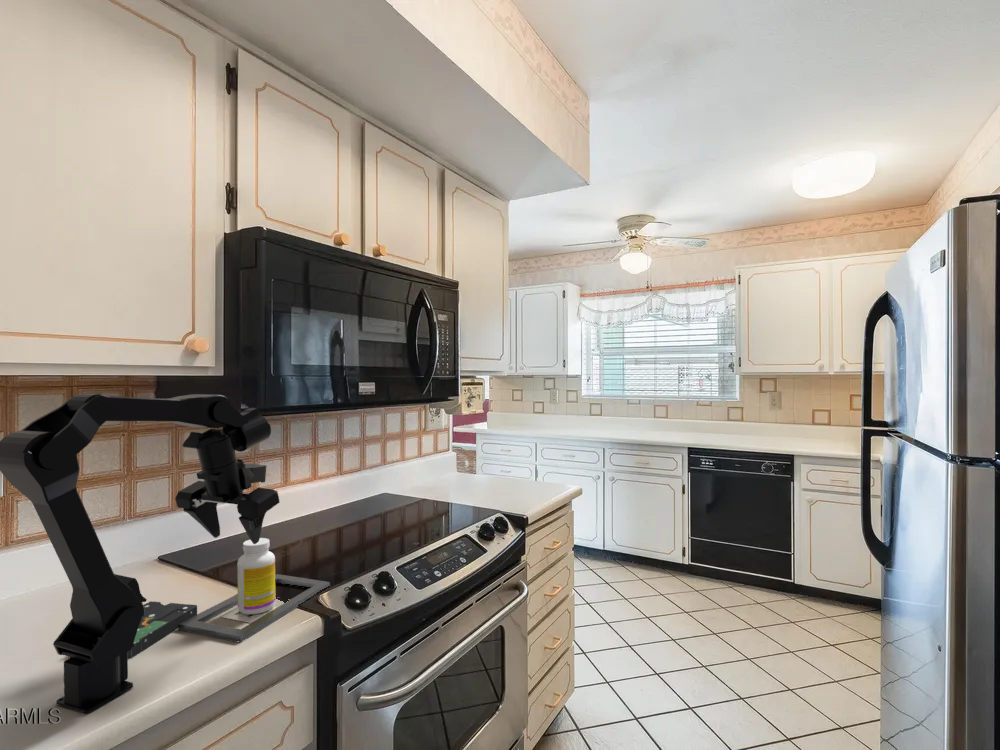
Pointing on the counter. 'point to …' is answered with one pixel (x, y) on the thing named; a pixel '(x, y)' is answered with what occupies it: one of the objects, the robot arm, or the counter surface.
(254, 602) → the supplement bottle
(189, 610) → the disk drive
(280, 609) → the label panel
